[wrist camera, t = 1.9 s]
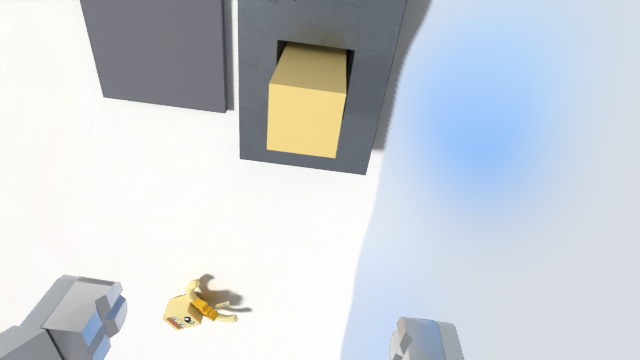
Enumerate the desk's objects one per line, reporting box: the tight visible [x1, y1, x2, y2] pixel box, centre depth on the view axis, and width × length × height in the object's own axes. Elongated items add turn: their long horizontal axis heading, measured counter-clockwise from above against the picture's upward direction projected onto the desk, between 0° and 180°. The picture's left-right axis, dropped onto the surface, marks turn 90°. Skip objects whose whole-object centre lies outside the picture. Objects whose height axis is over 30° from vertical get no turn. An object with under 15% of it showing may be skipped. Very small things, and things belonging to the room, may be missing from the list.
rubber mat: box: [80, 0, 227, 113], centre depth 28 cm, size 10×10×1 cm
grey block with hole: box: [238, 0, 407, 175], centre depth 27 cm, size 14×10×4 cm
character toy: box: [163, 279, 237, 330], centre depth 45 cm, size 8×3×8 cm
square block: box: [267, 41, 346, 158], centre depth 24 cm, size 4×4×10 cm
